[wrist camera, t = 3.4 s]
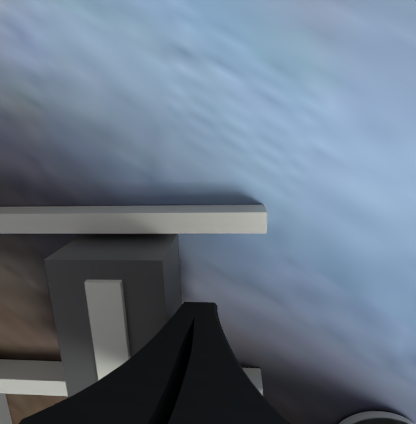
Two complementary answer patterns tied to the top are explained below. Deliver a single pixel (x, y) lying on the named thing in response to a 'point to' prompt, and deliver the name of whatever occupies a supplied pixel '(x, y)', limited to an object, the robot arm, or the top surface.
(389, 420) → the supplement bottle
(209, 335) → the robot arm
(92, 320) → the block
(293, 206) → the top surface
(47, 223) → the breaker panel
